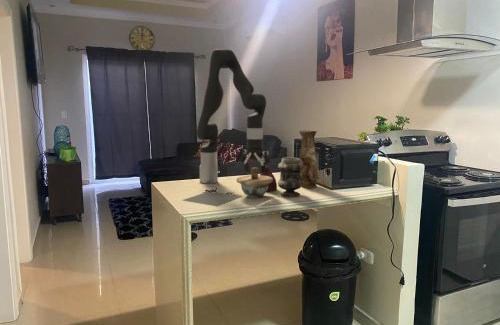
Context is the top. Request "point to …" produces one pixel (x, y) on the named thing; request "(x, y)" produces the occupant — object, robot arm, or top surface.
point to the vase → (308, 159)
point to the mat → (212, 198)
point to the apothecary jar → (290, 176)
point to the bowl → (254, 190)
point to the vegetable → (273, 185)
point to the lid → (254, 178)
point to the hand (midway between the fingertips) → (254, 172)
